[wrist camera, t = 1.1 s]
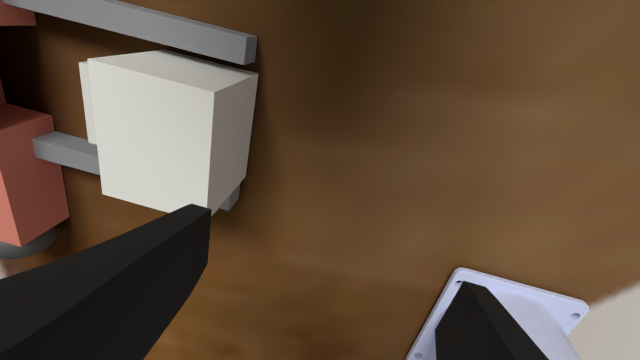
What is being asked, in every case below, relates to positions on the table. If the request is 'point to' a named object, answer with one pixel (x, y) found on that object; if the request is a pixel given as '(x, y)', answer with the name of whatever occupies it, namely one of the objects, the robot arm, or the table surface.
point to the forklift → (62, 149)
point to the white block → (168, 127)
